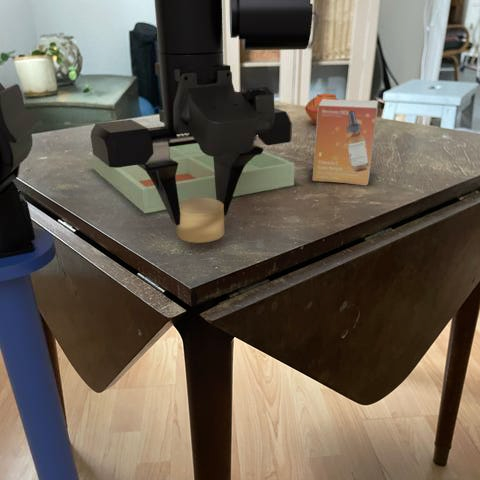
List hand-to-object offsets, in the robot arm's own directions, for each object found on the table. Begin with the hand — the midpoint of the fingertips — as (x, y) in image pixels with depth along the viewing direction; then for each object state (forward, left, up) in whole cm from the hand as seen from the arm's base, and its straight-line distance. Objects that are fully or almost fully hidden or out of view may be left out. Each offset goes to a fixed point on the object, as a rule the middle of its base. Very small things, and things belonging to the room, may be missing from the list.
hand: (199, 219), depth 56 cm
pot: (+48, +43, -4) cm, 65 cm away
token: (0, 0, -2) cm, 2 cm away
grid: (+10, +25, -4) cm, 27 cm away
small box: (+29, +13, -4) cm, 32 cm away
